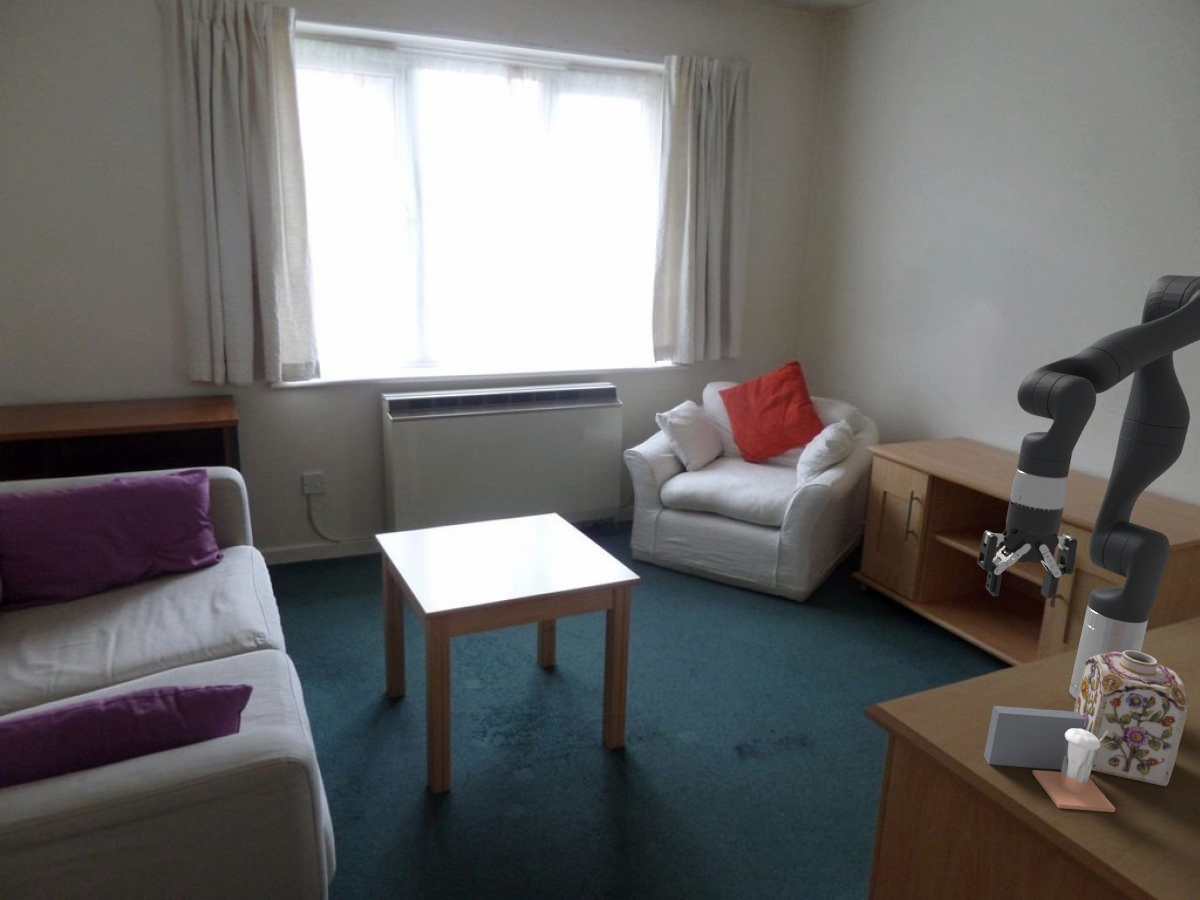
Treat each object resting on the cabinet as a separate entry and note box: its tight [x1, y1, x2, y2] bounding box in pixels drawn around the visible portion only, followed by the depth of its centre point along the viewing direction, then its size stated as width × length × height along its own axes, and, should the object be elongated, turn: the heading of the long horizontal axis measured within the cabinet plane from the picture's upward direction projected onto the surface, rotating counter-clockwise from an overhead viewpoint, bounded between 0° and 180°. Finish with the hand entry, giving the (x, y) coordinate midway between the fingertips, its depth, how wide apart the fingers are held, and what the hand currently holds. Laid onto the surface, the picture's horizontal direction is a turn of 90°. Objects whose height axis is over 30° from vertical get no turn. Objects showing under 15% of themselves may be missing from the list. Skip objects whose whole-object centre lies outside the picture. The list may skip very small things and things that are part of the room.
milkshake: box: [1060, 728, 1108, 794], centre depth 121 cm, size 4×5×10 cm
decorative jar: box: [1073, 650, 1189, 787], centre depth 129 cm, size 12×12×18 cm
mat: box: [1032, 769, 1116, 813], centre depth 122 cm, size 8×8×1 cm
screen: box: [983, 705, 1085, 771], centre depth 128 cm, size 13×2×9 cm, turn 88°
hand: (1019, 595), depth 133 cm, fingers open, 8 cm apart
